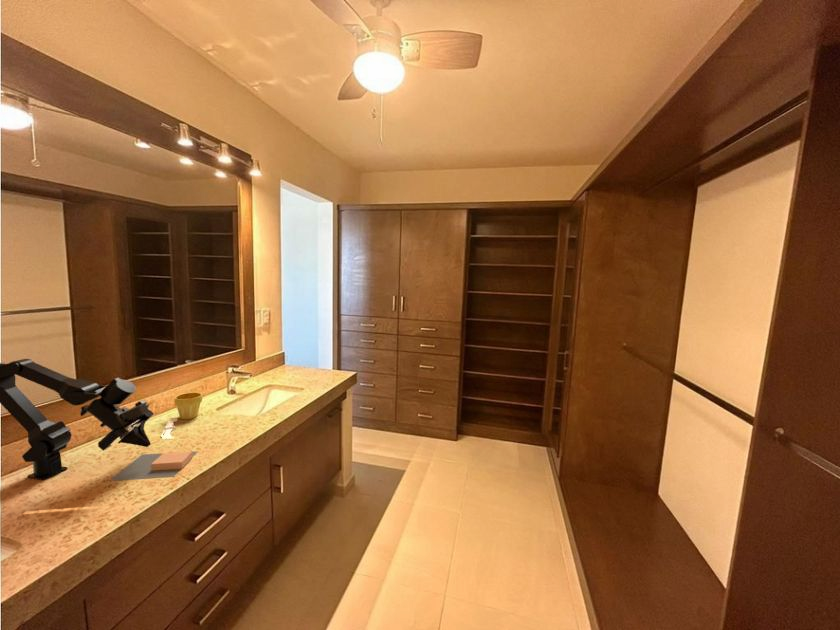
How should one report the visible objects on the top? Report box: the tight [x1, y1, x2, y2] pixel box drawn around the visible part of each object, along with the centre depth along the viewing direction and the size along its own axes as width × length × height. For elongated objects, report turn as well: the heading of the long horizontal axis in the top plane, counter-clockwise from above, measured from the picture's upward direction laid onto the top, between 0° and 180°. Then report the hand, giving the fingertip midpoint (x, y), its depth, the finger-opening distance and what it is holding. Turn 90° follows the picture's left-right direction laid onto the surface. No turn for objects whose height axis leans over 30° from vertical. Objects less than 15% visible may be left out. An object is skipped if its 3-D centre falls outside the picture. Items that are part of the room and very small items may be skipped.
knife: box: [160, 417, 178, 440], centre depth 136 cm, size 30×2×8 cm
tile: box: [151, 451, 194, 470], centre depth 114 cm, size 2×7×9 cm
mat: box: [108, 450, 199, 482], centre depth 113 cm, size 18×16×1 cm
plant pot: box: [174, 391, 203, 420], centre depth 153 cm, size 10×10×10 cm
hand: (149, 445), depth 112 cm, fingers closed
